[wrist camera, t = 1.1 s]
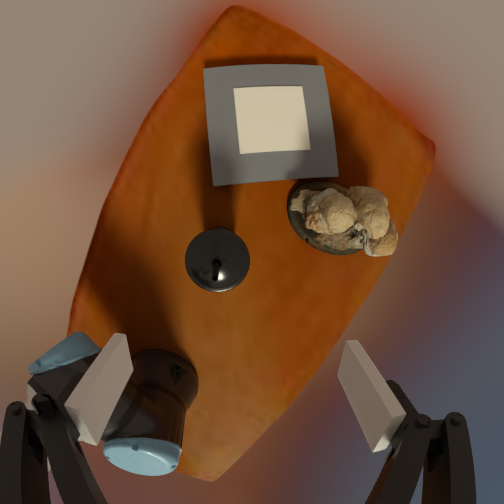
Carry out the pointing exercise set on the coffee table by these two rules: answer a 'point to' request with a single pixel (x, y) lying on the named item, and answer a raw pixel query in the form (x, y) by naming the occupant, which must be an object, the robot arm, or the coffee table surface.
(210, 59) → the coffee table surface
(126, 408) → the robot arm
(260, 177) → the base
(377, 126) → the coffee table surface
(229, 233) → the drinking cup
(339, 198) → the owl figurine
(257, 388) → the coffee table surface
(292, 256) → the coffee table surface
